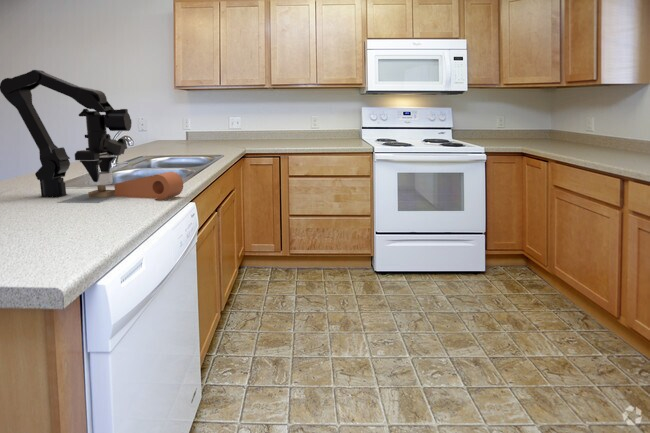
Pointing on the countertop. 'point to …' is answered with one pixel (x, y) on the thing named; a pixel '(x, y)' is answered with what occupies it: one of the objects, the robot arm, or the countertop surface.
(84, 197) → the mat
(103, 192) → the tan stamp
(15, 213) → the countertop surface
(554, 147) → the countertop surface
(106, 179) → the collar
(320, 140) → the countertop surface
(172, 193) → the crank
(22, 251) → the countertop surface
